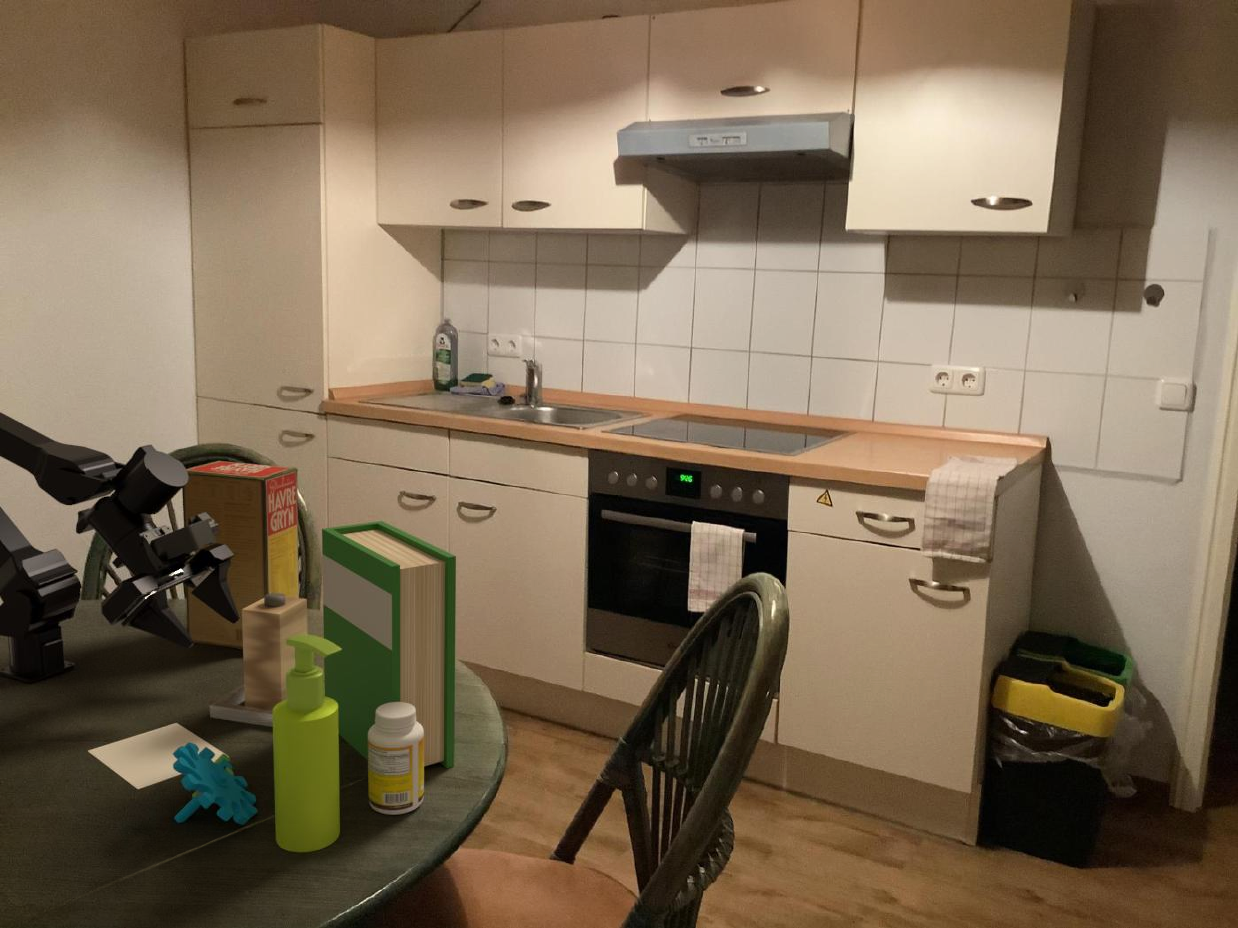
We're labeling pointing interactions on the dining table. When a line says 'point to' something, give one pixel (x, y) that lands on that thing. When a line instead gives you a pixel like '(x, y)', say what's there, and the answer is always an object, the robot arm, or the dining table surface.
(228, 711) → the pocket
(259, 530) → the food packaging
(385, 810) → the supplement bottle
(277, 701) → the block
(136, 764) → the beige flat slab
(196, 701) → the dining table surface
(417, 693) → the hardback book
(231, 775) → the gear
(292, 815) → the soap dispenser
